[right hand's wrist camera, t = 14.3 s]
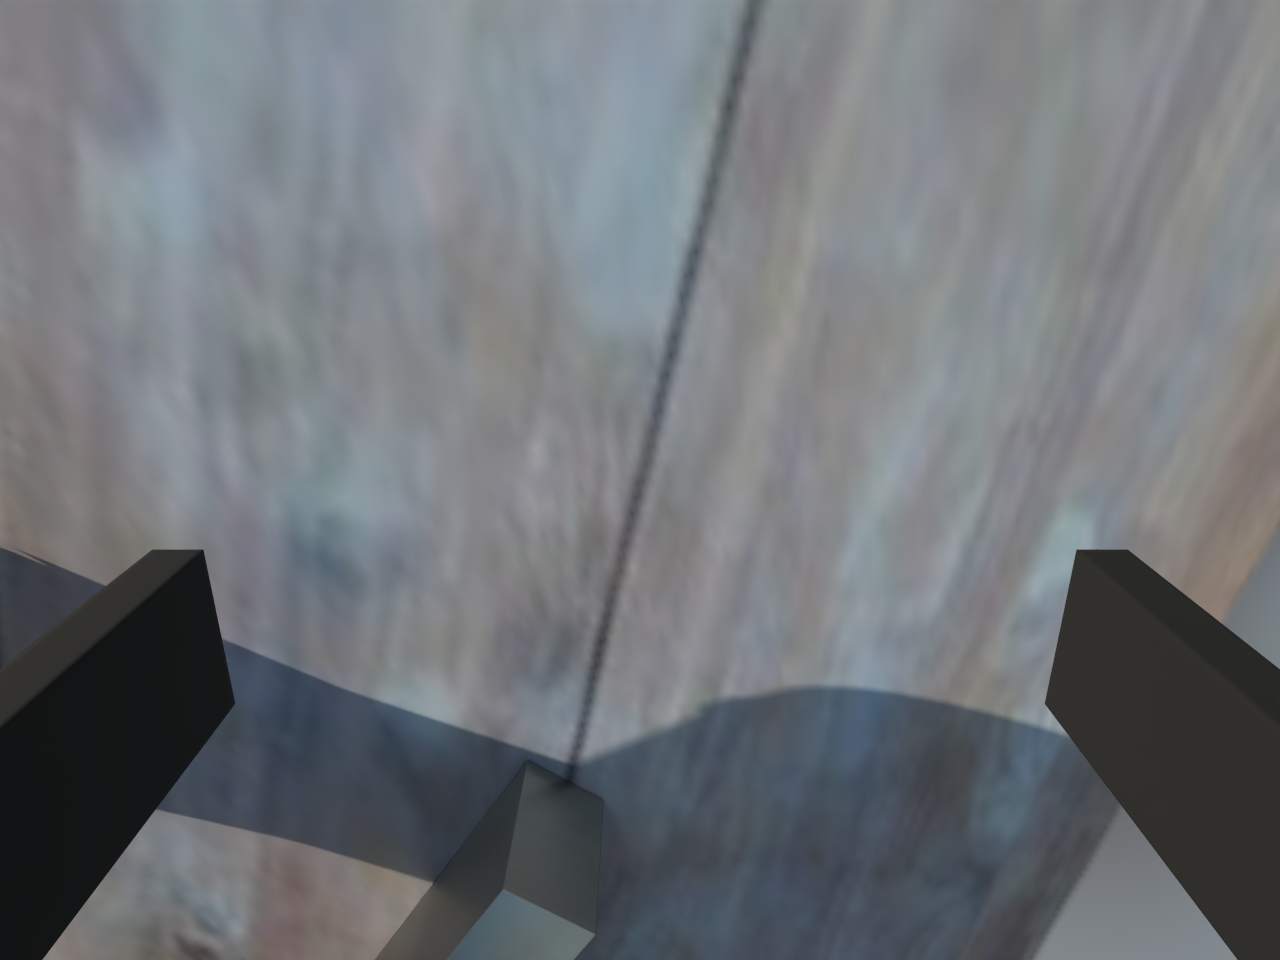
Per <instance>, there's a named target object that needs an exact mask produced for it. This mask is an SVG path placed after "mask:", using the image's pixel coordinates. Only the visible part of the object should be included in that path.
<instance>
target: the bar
mask: <svg viewBox="0 0 1280 960" xmlns="http://www.w3.org/2000/svg"><path fill="white" fill-rule="evenodd" d="M602 818H603V800H602V799H600V798H598V797H596V796H594V795H592V794H590V793H589V792H587V791H585V790H583V789H581V788H579V787H577V786H575V785H573V784H571V783H570V782H568V781H566V780H564V779H562V778H560V777H558V776H556V775H554V774H553V773H551V772H549V771H547V770H545V769H543V768H541V767H539V766H537V765H535V764H534V763H532V762H530V761H527V762H526V763H525V764H524V766H523V767H522V768H521V769H520V771H519V772H518V773H517V775H516V776H515V777H514V779H513V780H512V781H511V783H510V784H509V785H508V787H507V788H506V789H505V790H504V792H503V793H502V794H501V796H500V797H499V798H498V800H497V801H496V802H495V804H494V805H493V806H492V808H491V809H490V810H489V811H488V813H487V814H486V815H485V817H484V818H483V819H482V821H481V822H480V823H479V825H478V826H477V827H476V829H475V830H474V831H473V832H472V834H471V835H470V836H469V838H468V839H467V840H466V842H465V843H464V844H463V846H462V847H461V848H460V850H459V851H458V852H457V853H456V855H455V856H454V857H453V859H452V860H451V861H450V863H449V864H448V865H447V867H446V868H445V869H444V870H443V872H442V873H441V874H440V876H439V877H438V878H437V880H436V881H435V882H434V884H433V885H432V886H431V888H430V889H429V890H428V891H427V893H426V894H425V895H424V897H423V898H422V899H421V901H420V902H419V903H418V905H417V906H416V907H415V909H414V910H413V911H412V912H411V914H410V915H409V916H408V918H407V919H406V920H405V922H404V923H403V924H402V926H401V927H400V928H399V930H398V931H397V932H396V933H395V935H394V936H393V937H392V939H391V940H390V941H389V943H388V944H387V945H386V947H385V948H384V949H383V951H382V952H381V953H380V954H379V956H378V957H377V958H376V960H574V959H575V958H576V957H577V956H578V954H579V953H580V952H581V951H582V950H583V949H584V948H585V947H586V945H587V944H588V943H589V942H590V941H591V940H592V939H593V937H594V936H595V935H596V922H597V905H598V887H599V870H600V853H601V836H602Z"/></svg>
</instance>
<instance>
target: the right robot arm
mask: <svg viewBox="0 0 1280 960" xmlns="http://www.w3.org/2000/svg"><path fill="white" fill-rule="evenodd" d="M234 705H235V701H234V696H233V691H232V686H231V682H230V677H229V672H228V667H227V662H226V657H225V653H224V648H223V643H222V638H221V633H220V628H219V623H218V619H217V614H216V609H215V604H214V599H213V594H212V589H211V585H210V580H209V575H208V570H207V565H206V560H205V555H204V551H203V550H151V551H150V552H149V553H148V554H146V555H145V556H144V557H142V558H141V559H140V560H139V561H137V562H136V563H135V564H134V565H132V566H131V567H130V568H129V569H127V570H126V571H125V572H123V573H122V574H121V575H120V576H118V577H117V578H116V579H115V580H113V581H112V582H111V583H109V584H108V585H107V586H106V587H104V588H103V589H102V590H101V591H99V592H98V593H97V594H95V595H94V596H93V597H92V598H90V599H89V600H88V601H87V602H85V603H84V604H83V605H81V606H80V607H79V608H78V609H76V610H75V611H74V612H73V613H71V614H70V615H69V616H67V617H66V618H65V619H64V620H62V621H61V622H60V623H59V624H57V625H56V626H55V627H54V628H52V629H51V630H50V631H48V632H47V633H46V634H45V635H43V636H42V637H41V638H40V639H38V640H37V641H36V642H34V643H33V644H32V645H31V646H29V647H28V648H27V649H26V650H24V651H23V652H22V653H20V654H19V655H18V656H17V657H15V658H14V659H13V660H12V661H10V662H9V663H8V664H6V665H5V666H4V667H3V668H1V669H0V960H42V959H43V958H44V957H45V955H46V954H47V953H48V951H49V950H50V949H51V947H52V946H53V945H54V944H55V942H56V941H57V940H58V938H59V937H60V936H61V934H62V933H63V932H64V930H65V929H66V928H67V926H68V925H69V924H70V922H71V921H72V920H73V918H74V917H75V916H76V914H77V913H78V912H79V910H80V909H81V908H82V906H83V905H84V904H85V902H86V901H87V900H88V898H89V897H90V896H91V894H92V893H93V892H94V890H95V889H96V888H97V886H98V885H99V884H100V882H101V881H102V880H103V878H104V877H105V876H106V874H107V873H108V872H109V870H110V869H111V868H112V866H113V865H114V864H115V863H116V861H117V860H118V859H119V857H120V856H121V855H122V853H123V852H124V851H125V849H126V848H127V847H128V845H129V844H130V843H131V841H132V840H133V839H134V837H135V836H136V835H137V833H138V832H139V831H140V829H141V828H142V827H143V825H144V824H145V823H146V821H147V820H148V819H149V817H150V816H151V815H152V813H153V812H154V811H155V809H156V808H157V807H158V805H159V804H160V803H161V801H162V800H163V799H164V797H165V796H166V795H167V793H168V792H169V791H170V789H171V788H172V787H173V786H174V784H175V783H176V782H177V780H178V779H179V778H180V776H181V775H182V774H183V772H184V771H185V770H186V768H187V767H188V766H189V764H190V763H191V762H192V760H193V759H194V758H195V756H196V755H197V754H198V752H199V751H200V750H201V748H202V747H203V746H204V744H205V743H206V742H207V740H208V739H209V738H210V736H211V735H212V734H213V732H214V731H215V730H216V728H217V727H218V726H219V724H220V723H221V722H222V720H223V719H224V718H225V716H226V715H227V714H228V712H229V711H230V710H231V708H232V707H233V706H234ZM1045 705H1046V706H1047V707H1048V708H1049V710H1050V711H1051V712H1052V714H1053V715H1054V716H1055V718H1056V719H1057V720H1058V722H1059V723H1060V724H1061V726H1062V727H1063V728H1064V730H1065V731H1066V732H1067V734H1068V735H1069V736H1070V738H1071V739H1072V740H1073V742H1074V743H1075V744H1076V746H1077V747H1078V748H1079V750H1080V751H1081V752H1082V754H1083V755H1084V756H1085V758H1086V759H1087V760H1088V762H1089V763H1090V764H1091V766H1092V767H1093V768H1094V770H1095V771H1096V772H1097V774H1098V775H1099V776H1100V778H1101V779H1102V780H1103V782H1104V783H1105V784H1106V786H1107V787H1108V788H1109V789H1110V791H1111V792H1112V793H1113V795H1114V796H1115V797H1116V799H1117V800H1118V801H1119V803H1120V804H1121V805H1122V807H1123V808H1124V809H1125V811H1126V812H1127V813H1128V815H1129V816H1130V817H1131V819H1132V820H1133V821H1134V823H1135V824H1136V825H1137V827H1138V828H1139V829H1140V831H1141V832H1142V833H1143V835H1144V836H1145V837H1146V839H1147V840H1148V841H1149V843H1150V844H1151V845H1152V847H1153V848H1154V849H1155V851H1156V852H1157V853H1158V855H1159V856H1160V857H1161V858H1162V860H1163V861H1164V863H1165V864H1166V865H1167V866H1168V868H1169V869H1170V870H1171V872H1172V873H1173V874H1174V876H1175V877H1176V878H1177V880H1178V881H1179V882H1180V884H1181V885H1182V886H1183V888H1184V889H1185V890H1186V892H1187V893H1188V894H1189V896H1190V897H1191V898H1192V900H1193V901H1194V902H1195V904H1196V905H1197V906H1198V908H1199V909H1200V910H1201V912H1202V913H1203V914H1204V916H1205V917H1206V918H1207V920H1208V921H1209V922H1210V924H1211V925H1212V926H1213V928H1214V929H1215V930H1216V932H1217V933H1218V934H1219V936H1220V937H1221V938H1222V940H1223V941H1224V942H1225V943H1226V945H1227V946H1228V947H1229V949H1230V950H1231V951H1232V953H1233V954H1234V955H1235V957H1236V958H1237V959H1238V960H1280V669H1279V668H1277V667H1276V666H1275V665H1274V664H1272V663H1271V662H1270V661H1268V660H1267V659H1266V658H1265V657H1263V656H1262V655H1261V654H1260V653H1258V652H1257V651H1256V650H1254V649H1253V648H1252V647H1251V646H1249V645H1248V644H1247V643H1246V642H1244V641H1243V640H1242V639H1240V638H1239V637H1238V636H1237V635H1235V634H1234V633H1233V632H1232V631H1230V630H1229V629H1228V628H1226V627H1225V626H1224V625H1223V624H1221V623H1220V622H1219V621H1218V620H1216V619H1215V618H1214V617H1213V616H1211V615H1210V614H1209V613H1207V612H1206V611H1205V610H1204V609H1202V608H1201V607H1200V606H1199V605H1197V604H1196V603H1195V602H1193V601H1192V600H1191V599H1190V598H1188V597H1187V596H1186V595H1185V594H1183V593H1182V592H1181V591H1179V590H1178V589H1177V588H1176V587H1174V586H1173V585H1172V584H1171V583H1169V582H1168V581H1167V580H1165V579H1164V578H1163V577H1162V576H1160V575H1159V574H1158V573H1157V572H1155V571H1154V570H1153V569H1151V568H1150V567H1149V566H1148V565H1146V564H1145V563H1144V562H1143V561H1141V560H1140V559H1139V558H1138V557H1136V556H1135V555H1134V554H1132V553H1131V552H1130V551H1129V550H1077V551H1076V555H1075V560H1074V565H1073V570H1072V575H1071V580H1070V585H1069V589H1068V594H1067V599H1066V604H1065V609H1064V614H1063V619H1062V623H1061V628H1060V633H1059V638H1058V643H1057V648H1056V652H1055V657H1054V662H1053V667H1052V672H1051V677H1050V682H1049V686H1048V691H1047V696H1046V701H1045Z"/></svg>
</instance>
